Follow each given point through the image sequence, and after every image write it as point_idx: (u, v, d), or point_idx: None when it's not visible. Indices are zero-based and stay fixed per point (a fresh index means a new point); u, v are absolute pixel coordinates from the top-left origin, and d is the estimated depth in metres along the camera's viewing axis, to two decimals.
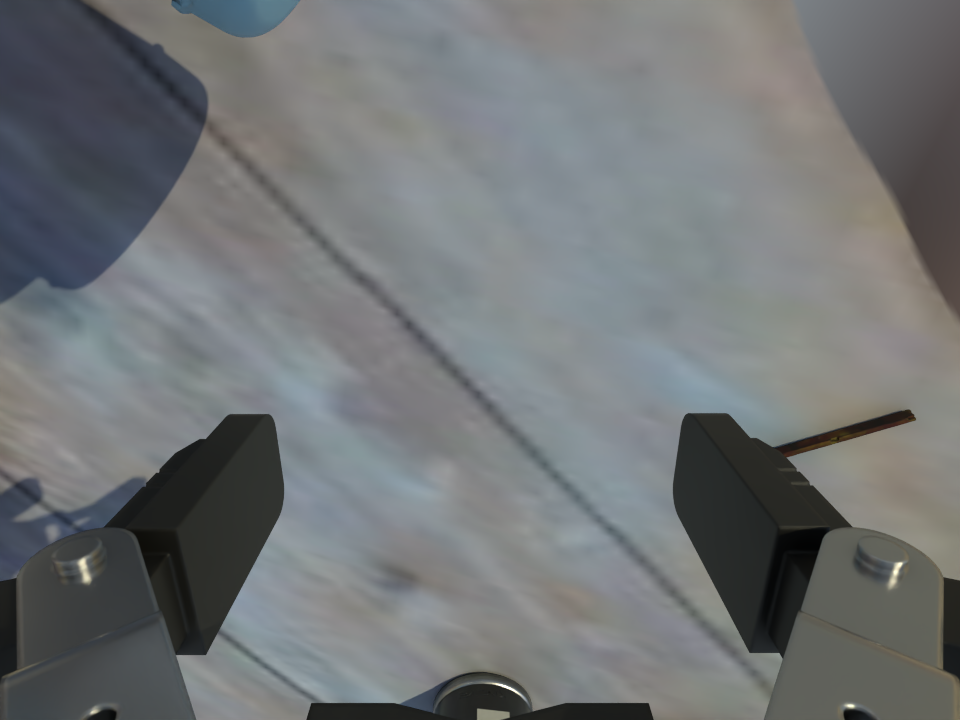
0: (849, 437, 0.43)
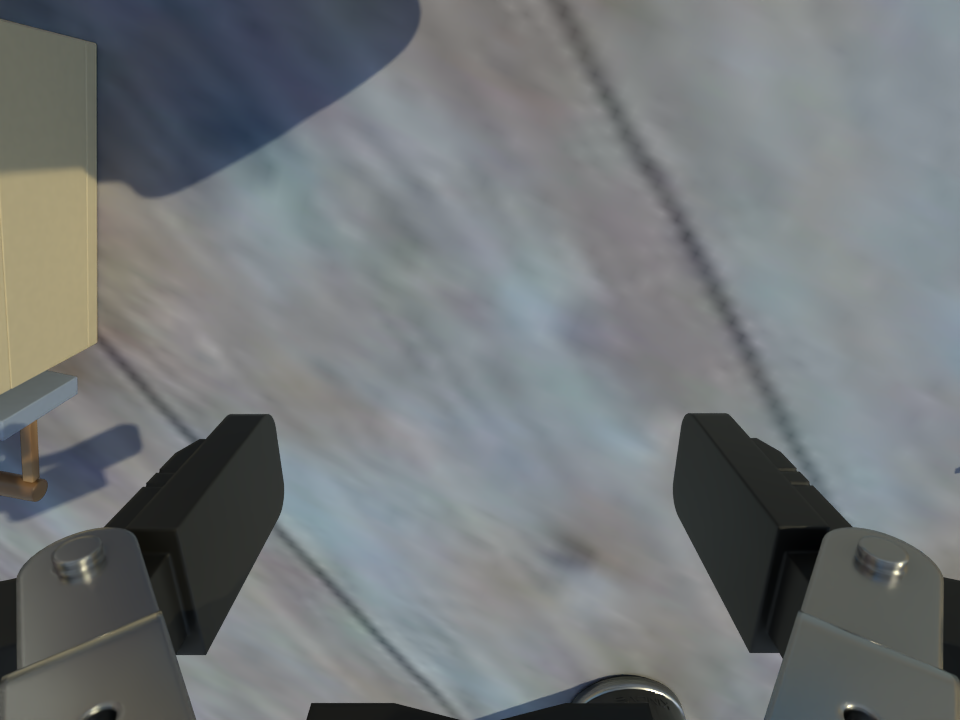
0: None
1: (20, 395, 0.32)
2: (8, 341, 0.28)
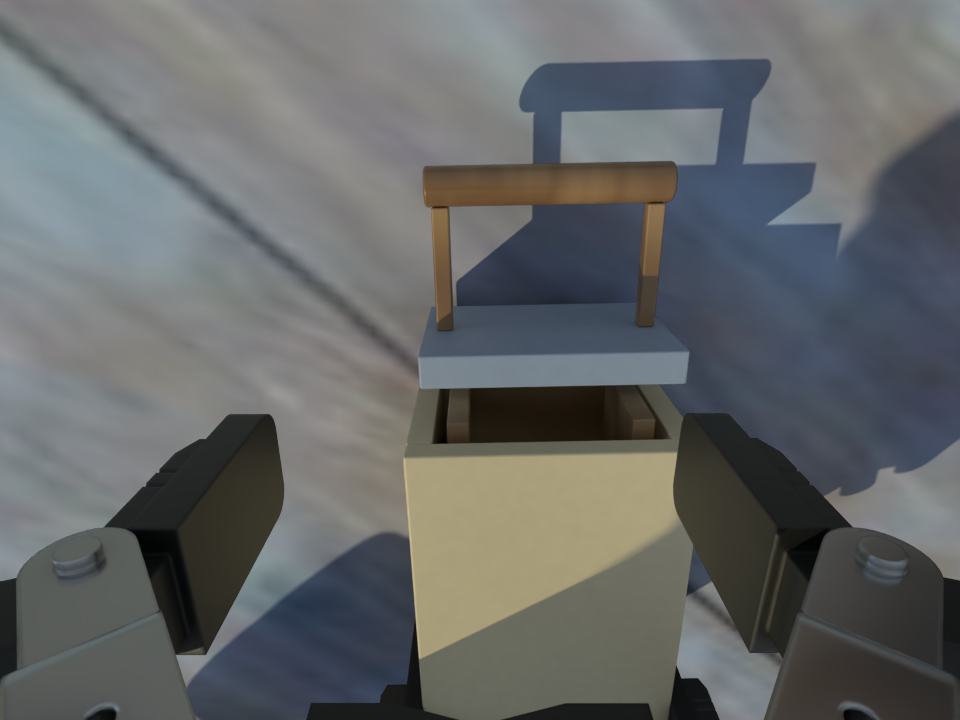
0: None
1: None
2: None
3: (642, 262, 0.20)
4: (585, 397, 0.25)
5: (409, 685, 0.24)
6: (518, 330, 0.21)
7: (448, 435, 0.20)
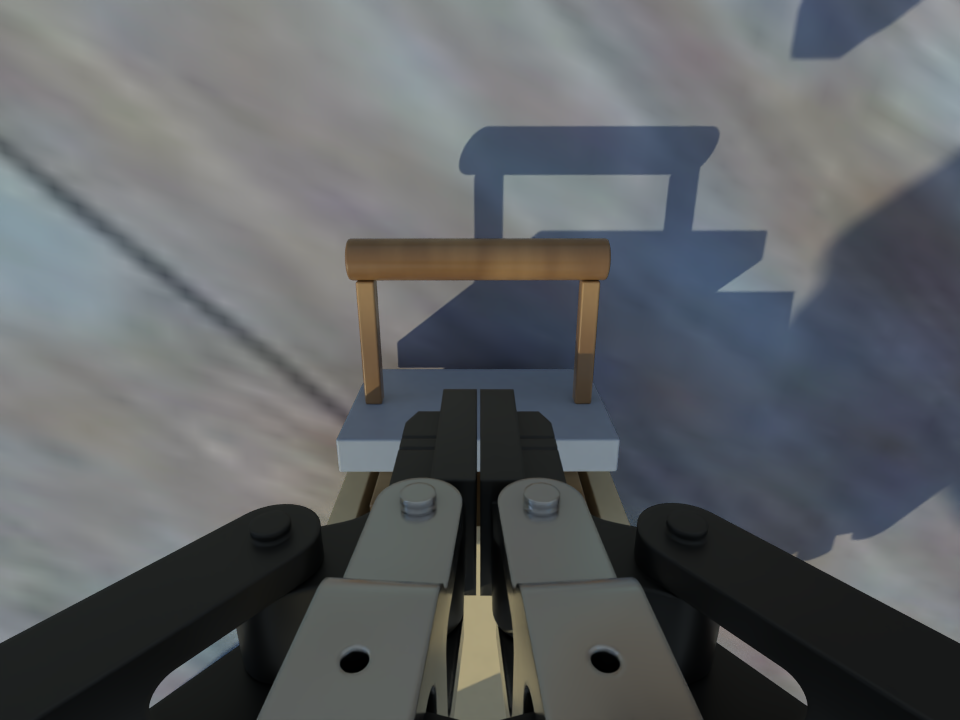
0: None
1: None
2: None
3: (577, 339, 0.20)
4: None
5: None
6: None
7: None
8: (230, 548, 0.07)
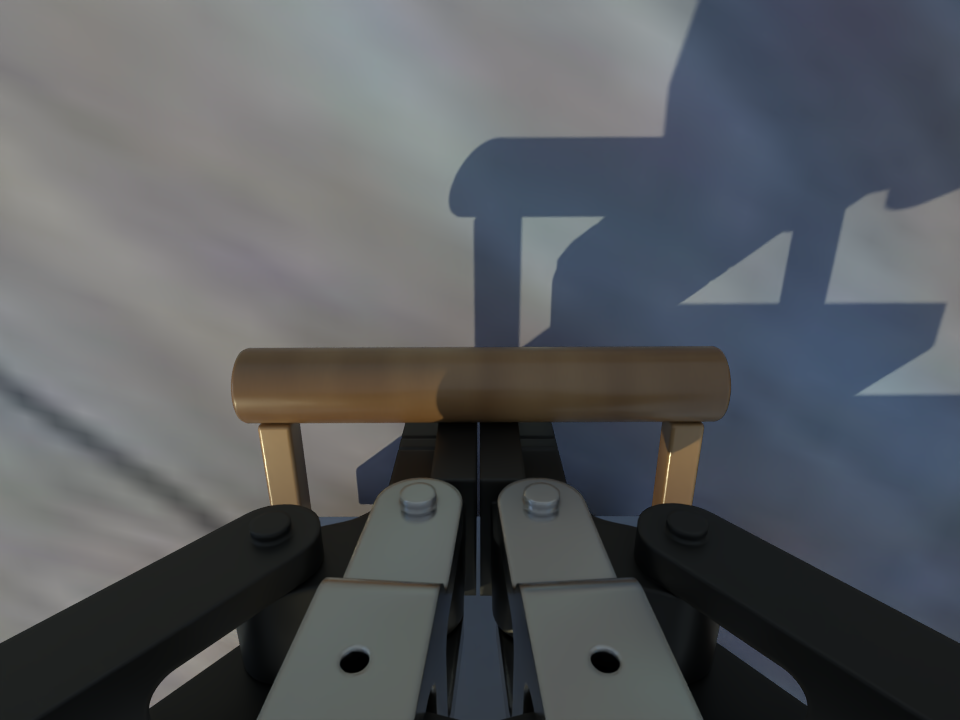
0: None
1: None
2: None
3: None
4: None
5: None
6: None
7: None
8: (230, 548, 0.07)
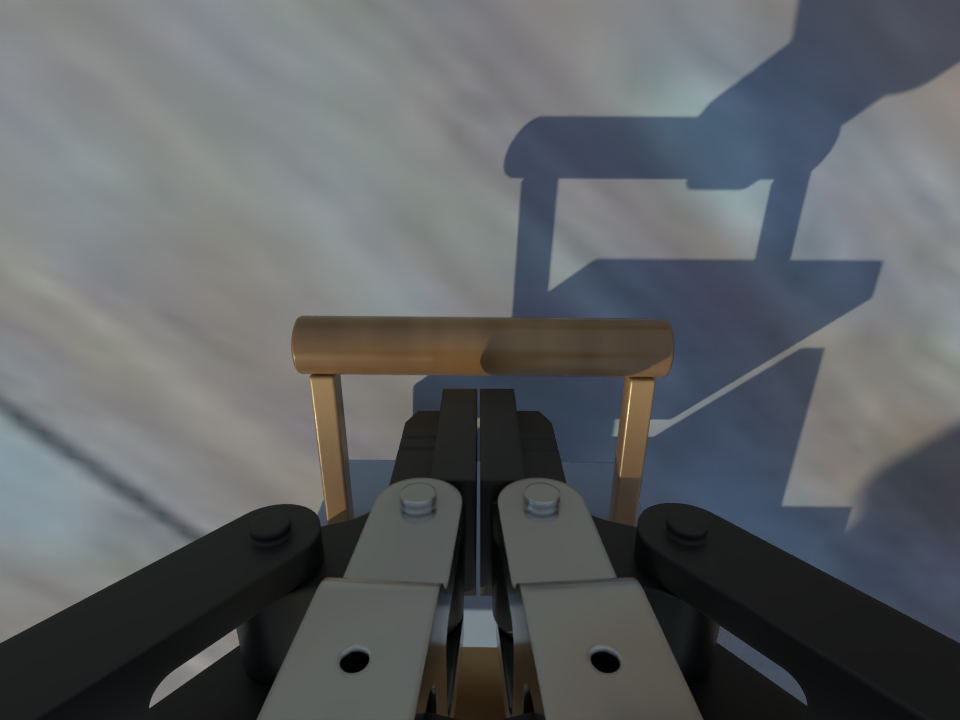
0: None
1: None
2: None
3: (620, 452, 0.14)
4: None
5: None
6: None
7: None
8: (230, 548, 0.07)
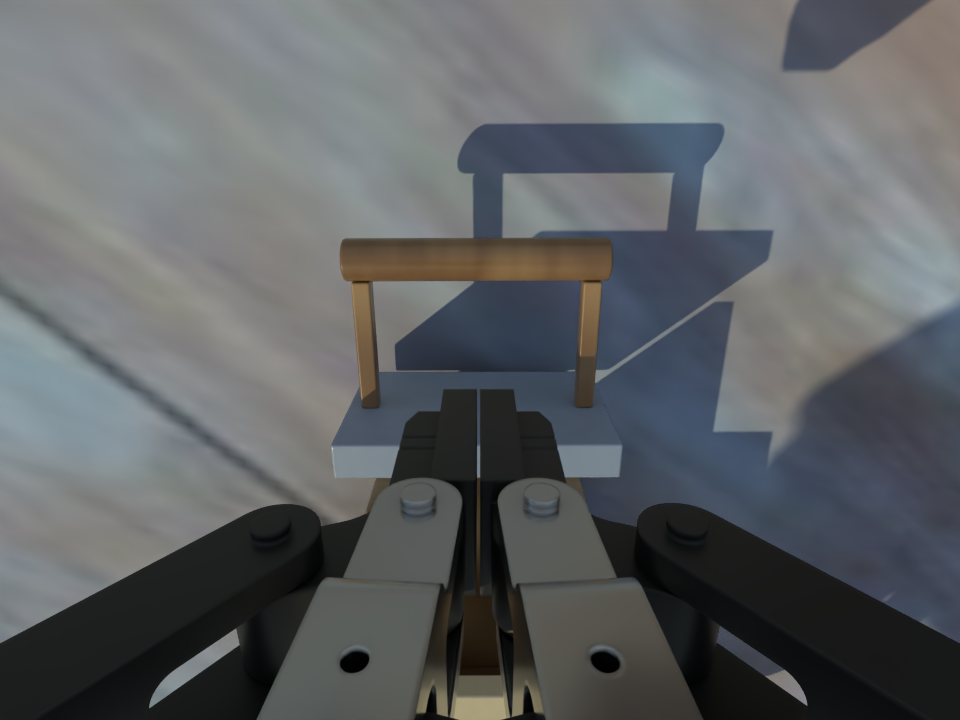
0: None
1: None
2: None
3: (579, 341, 0.19)
4: None
5: None
6: None
7: None
8: (230, 548, 0.07)
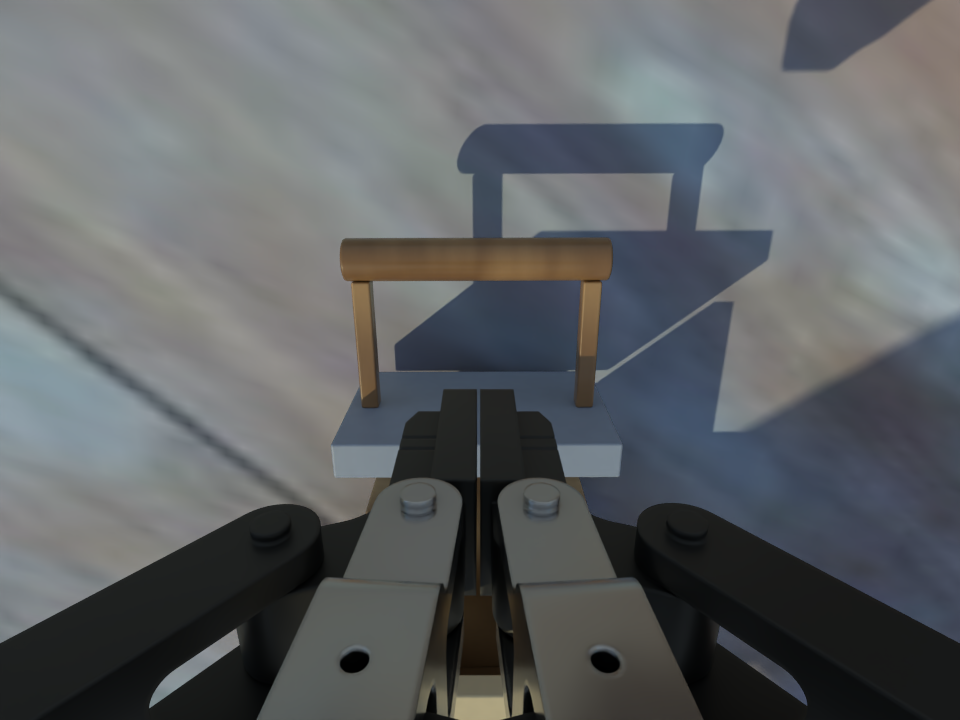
0: None
1: None
2: None
3: (579, 341, 0.19)
4: None
5: None
6: None
7: None
8: (230, 548, 0.07)
